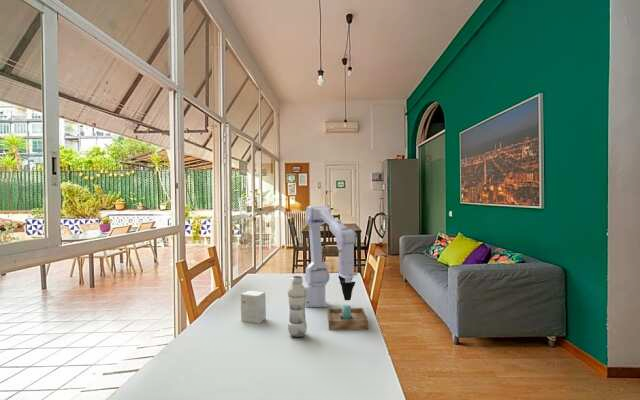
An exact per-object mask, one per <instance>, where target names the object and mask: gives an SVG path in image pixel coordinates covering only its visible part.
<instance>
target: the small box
mask: <svg viewBox="0 0 640 400" xmlns="http://www.w3.org/2000/svg"><path fill="white" fill-rule="evenodd" d="M266 301H267V300H266V292H263V291H256V290H247V291H245V292H242V293H240V317H241V320H240V321H242V322H249V323H255V324H259V323H261V322H263V321H264V320H266V319H267V312H266V311H267V309H266V306H267V305H266Z"/></svg>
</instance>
